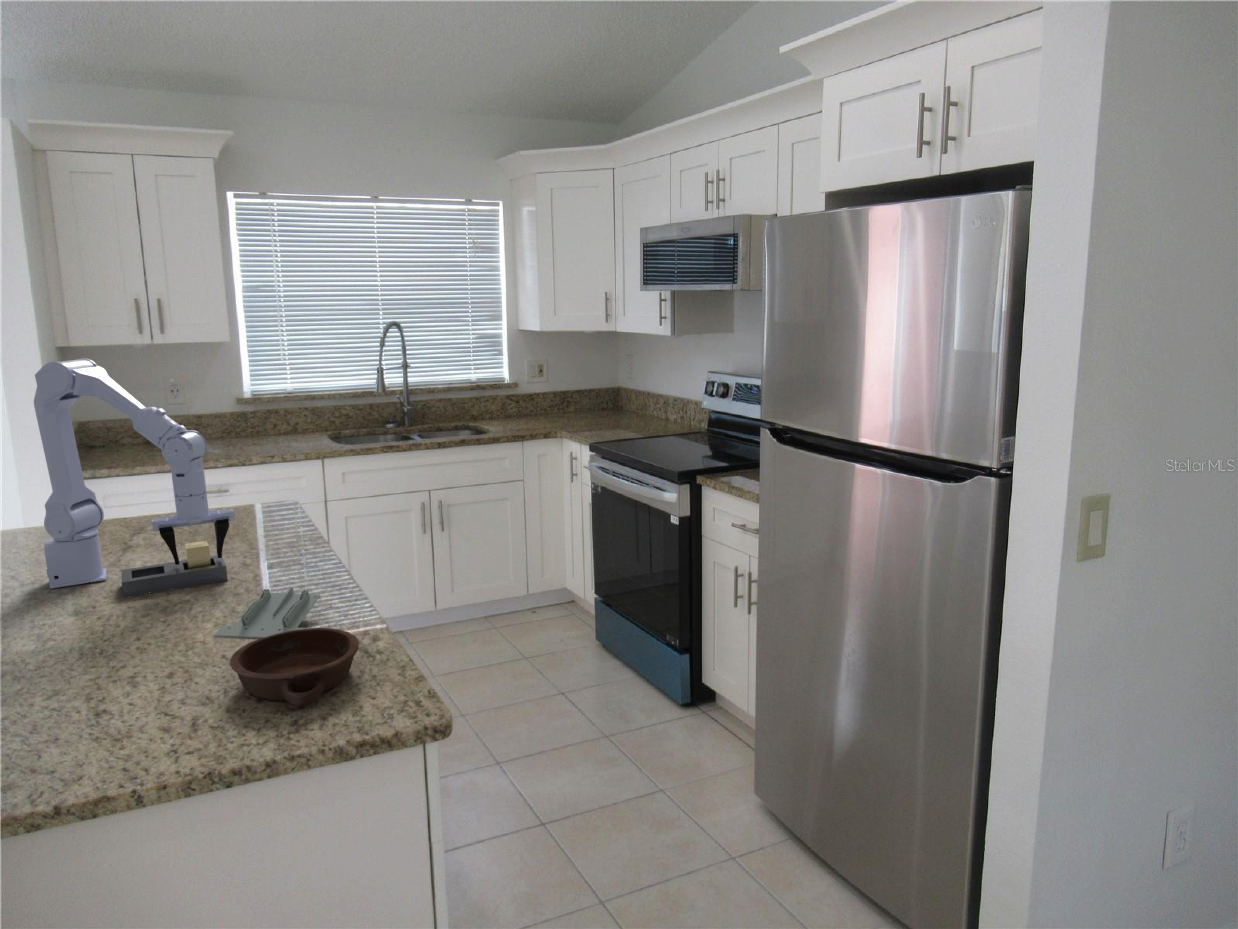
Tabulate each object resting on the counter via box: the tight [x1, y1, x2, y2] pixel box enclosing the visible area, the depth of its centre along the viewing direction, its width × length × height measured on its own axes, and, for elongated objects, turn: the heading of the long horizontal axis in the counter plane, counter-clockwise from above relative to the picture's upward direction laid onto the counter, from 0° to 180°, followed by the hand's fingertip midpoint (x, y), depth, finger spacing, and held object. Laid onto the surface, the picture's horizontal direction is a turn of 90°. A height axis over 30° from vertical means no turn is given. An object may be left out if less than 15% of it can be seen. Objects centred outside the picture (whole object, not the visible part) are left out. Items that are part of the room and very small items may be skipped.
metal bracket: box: [214, 586, 321, 640], centre depth 147 cm, size 14×6×15 cm
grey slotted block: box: [121, 554, 228, 598], centre depth 170 cm, size 18×9×3 cm, turn 120°
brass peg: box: [184, 540, 211, 570], centre depth 172 cm, size 4×4×7 cm
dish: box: [229, 627, 360, 707], centre depth 125 cm, size 18×22×5 cm
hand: (198, 560), depth 172 cm, fingers open, 7 cm apart
